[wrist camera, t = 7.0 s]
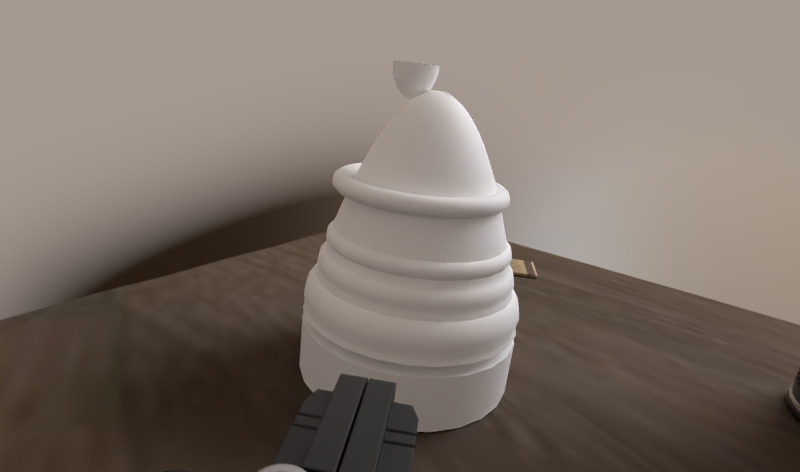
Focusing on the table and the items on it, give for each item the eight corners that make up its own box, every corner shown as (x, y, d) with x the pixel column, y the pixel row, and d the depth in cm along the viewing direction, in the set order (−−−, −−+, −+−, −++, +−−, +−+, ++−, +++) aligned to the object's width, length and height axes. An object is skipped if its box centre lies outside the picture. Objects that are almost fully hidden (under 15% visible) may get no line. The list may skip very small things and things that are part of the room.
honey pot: (260, 345, 32) (271, 45, 27) (407, 303, 41) (438, 69, 36) (393, 468, 24) (449, 59, 18) (545, 382, 32) (613, 86, 27)
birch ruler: (532, 264, 54) (532, 261, 54) (537, 278, 50) (537, 275, 50) (364, 239, 55) (364, 236, 55) (357, 251, 51) (357, 248, 51)
